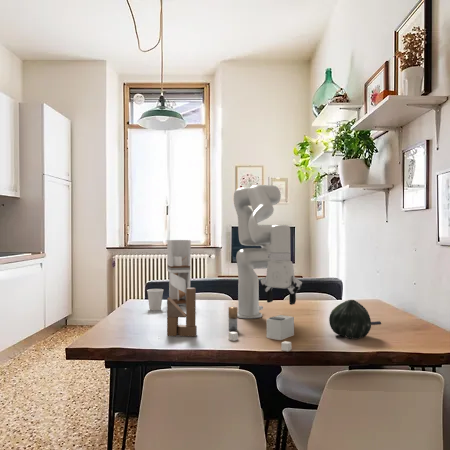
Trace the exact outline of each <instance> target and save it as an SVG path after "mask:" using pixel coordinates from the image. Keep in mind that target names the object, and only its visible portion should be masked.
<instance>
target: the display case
mask: <svg viewBox="0 0 450 450" xmlns="http://www.w3.org/2000/svg"><path fill="white" fill-rule="evenodd" d="M191 242H192V241H191V240H190V239H167V244H166V245H167V246H166V247H167V248H166V249H167V251H166V253H167V254H166V255H167V256H166V257H167V259H166V266H167V267H166V271H167V272H168V274H169V275H168V276H169V277H168V286H169V287H168V288H169V290H168V293H169V294H168V295H169V297H170V298H171V299H172V300H173V301H174V302H175V303H176V304H177V305H178V306H179V305H186V288H191V265H192V264H191V258H192V257H191V252H192V251H191V250H192V245H191V244H192V243H191ZM169 297H168V298H169ZM179 307H180V306H179Z"/></svg>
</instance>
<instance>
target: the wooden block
mask: <svg viewBox="0 0 450 450" xmlns="http://www.w3.org/2000/svg"><path fill="white" fill-rule="evenodd" d="M196 289H197V288H196V287H190V288H186V306H185V311H184V310H183V309H182V308H181V306H178V305H177V304H176V303H175V302H174V301H173V300H172V299H171V298H170V297H167V298H166V303H167V304H166V310H167V311H166V336H167V337H176V336H180V337H188V338H189V337H190V338H192V337H193V338H194V337H196V336H197V328H198V327H197V325H196V314H197V313H196V301H197V300H196V298H197V297H196V295H197V294H196V293H197V292H196ZM179 318H185V324H179Z"/></svg>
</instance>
